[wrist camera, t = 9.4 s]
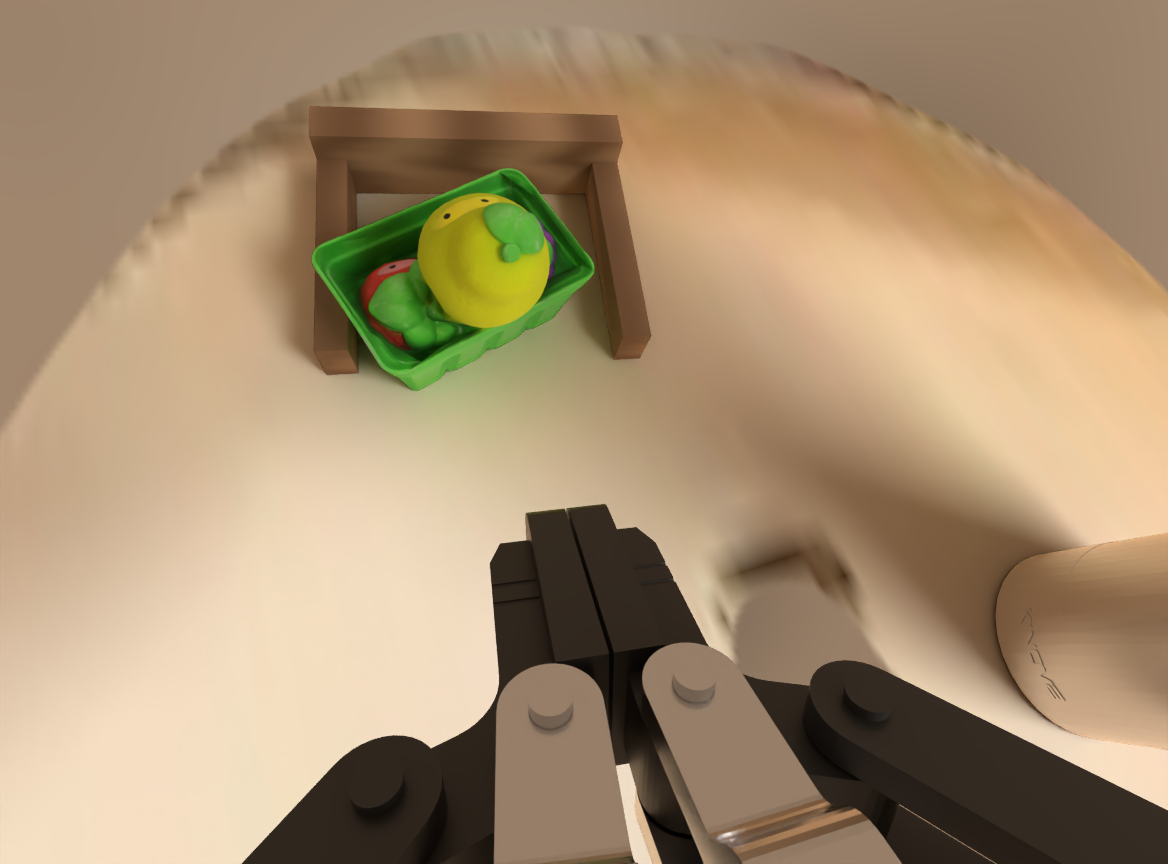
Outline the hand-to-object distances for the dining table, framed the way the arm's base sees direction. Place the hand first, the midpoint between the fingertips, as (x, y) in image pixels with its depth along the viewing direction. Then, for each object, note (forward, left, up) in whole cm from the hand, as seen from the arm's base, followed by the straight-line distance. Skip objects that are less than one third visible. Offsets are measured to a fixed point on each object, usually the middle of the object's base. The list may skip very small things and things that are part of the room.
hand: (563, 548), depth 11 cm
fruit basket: (+1, -15, -18) cm, 23 cm away
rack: (0, -19, -17) cm, 26 cm away
